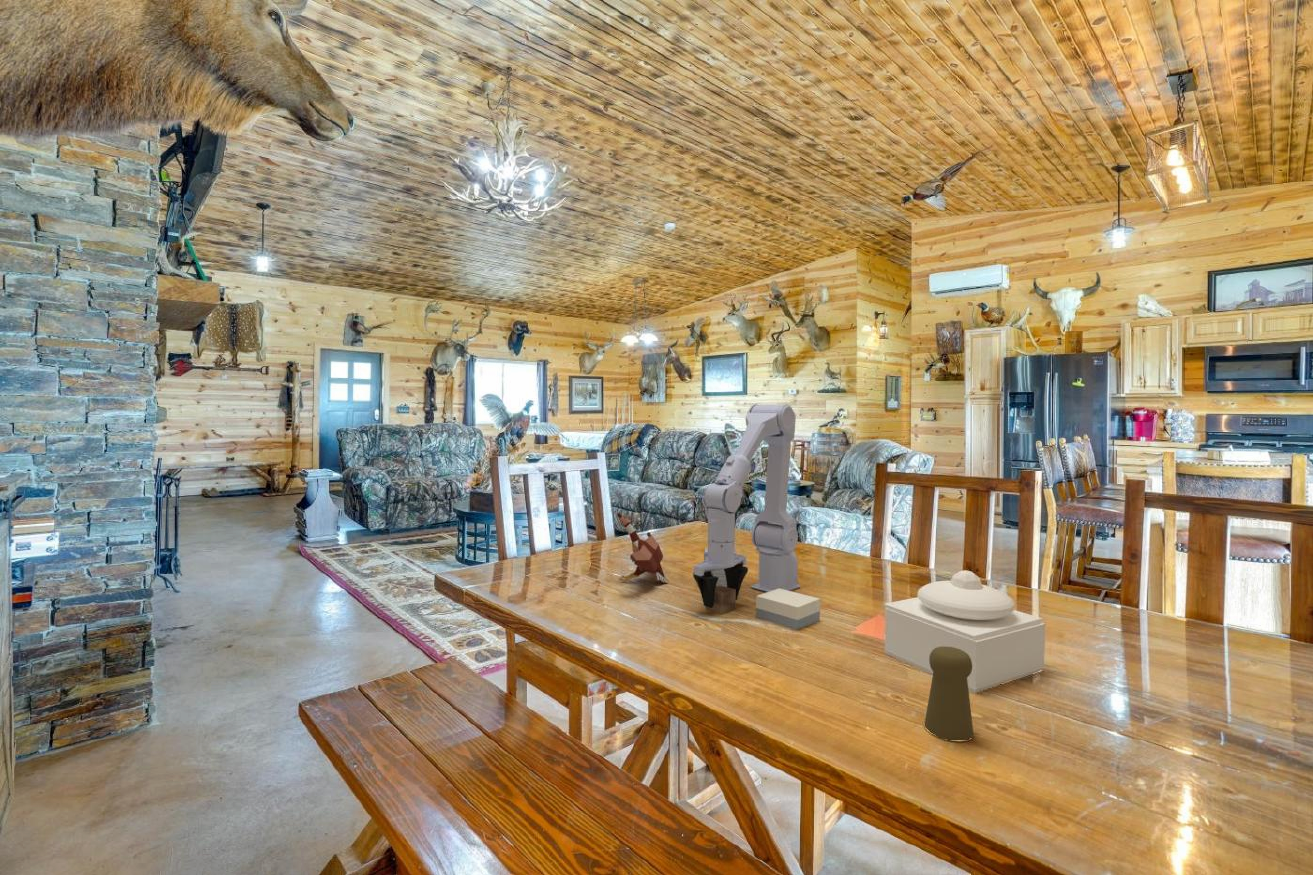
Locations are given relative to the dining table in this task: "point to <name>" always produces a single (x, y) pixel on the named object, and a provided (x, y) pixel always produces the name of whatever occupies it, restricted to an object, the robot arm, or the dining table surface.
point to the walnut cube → (723, 600)
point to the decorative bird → (644, 554)
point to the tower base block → (788, 619)
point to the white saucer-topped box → (966, 630)
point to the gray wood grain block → (718, 572)
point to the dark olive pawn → (949, 694)
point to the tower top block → (788, 603)
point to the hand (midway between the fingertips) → (720, 602)
